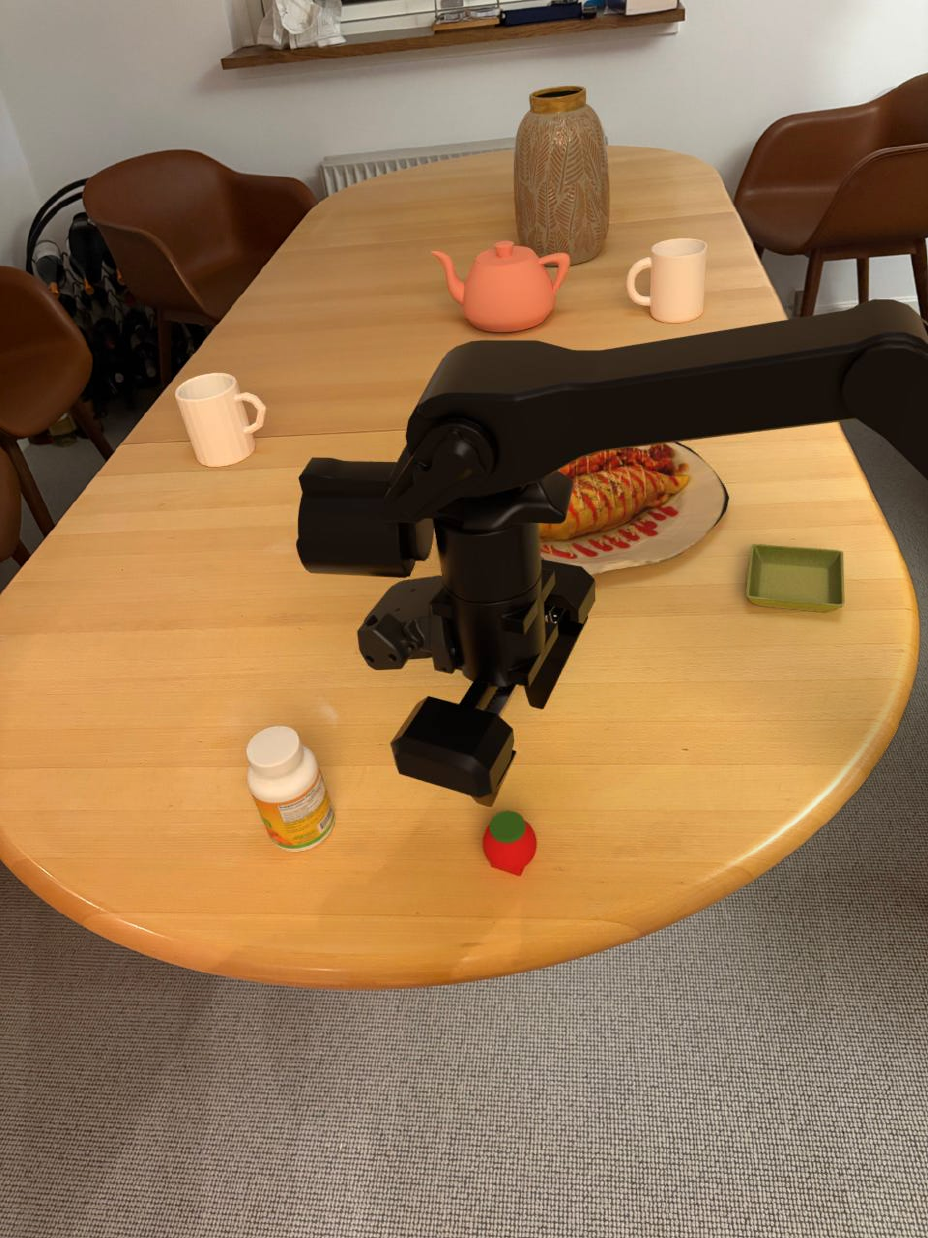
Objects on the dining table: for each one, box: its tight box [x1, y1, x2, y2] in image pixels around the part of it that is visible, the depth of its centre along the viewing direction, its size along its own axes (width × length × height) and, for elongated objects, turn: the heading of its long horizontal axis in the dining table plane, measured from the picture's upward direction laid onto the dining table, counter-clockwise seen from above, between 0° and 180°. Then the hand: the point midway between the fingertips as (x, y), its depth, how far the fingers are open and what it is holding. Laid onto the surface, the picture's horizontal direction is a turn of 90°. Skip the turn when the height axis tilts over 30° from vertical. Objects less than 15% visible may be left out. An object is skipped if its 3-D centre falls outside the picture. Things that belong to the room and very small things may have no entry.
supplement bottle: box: [245, 725, 336, 853], centre depth 68 cm, size 5×5×10 cm
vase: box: [513, 85, 611, 267], centre depth 158 cm, size 17×17×27 cm
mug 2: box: [625, 237, 708, 324], centre depth 137 cm, size 12×8×10 cm
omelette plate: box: [539, 442, 730, 576], centre depth 101 cm, size 31×35×7 cm
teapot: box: [429, 240, 571, 333], centre depth 142 cm, size 22×15×12 cm
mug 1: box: [174, 372, 267, 468], centre depth 117 cm, size 8×12×10 cm
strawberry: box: [482, 810, 538, 877], centre depth 65 cm, size 4×4×4 cm
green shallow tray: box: [745, 543, 846, 613], centre depth 85 cm, size 9×9×2 cm
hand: (512, 752), depth 60 cm, fingers open, 9 cm apart
